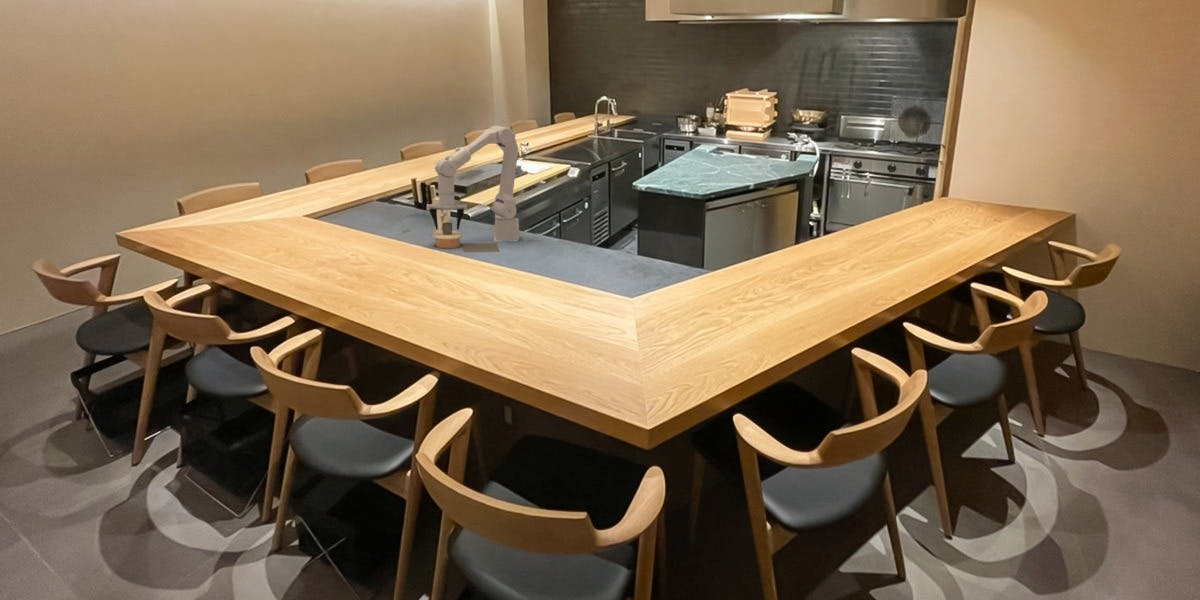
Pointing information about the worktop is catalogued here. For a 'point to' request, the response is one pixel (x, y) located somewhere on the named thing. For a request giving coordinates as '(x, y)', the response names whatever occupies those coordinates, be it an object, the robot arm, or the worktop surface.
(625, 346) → the worktop surface
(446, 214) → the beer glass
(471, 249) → the mat
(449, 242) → the bowl
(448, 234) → the lid
